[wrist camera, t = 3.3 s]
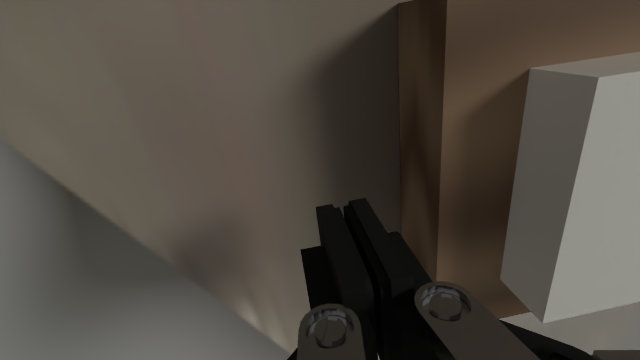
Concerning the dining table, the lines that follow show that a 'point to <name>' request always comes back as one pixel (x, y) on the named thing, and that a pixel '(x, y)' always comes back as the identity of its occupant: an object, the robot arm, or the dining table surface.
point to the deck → (481, 120)
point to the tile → (577, 190)
